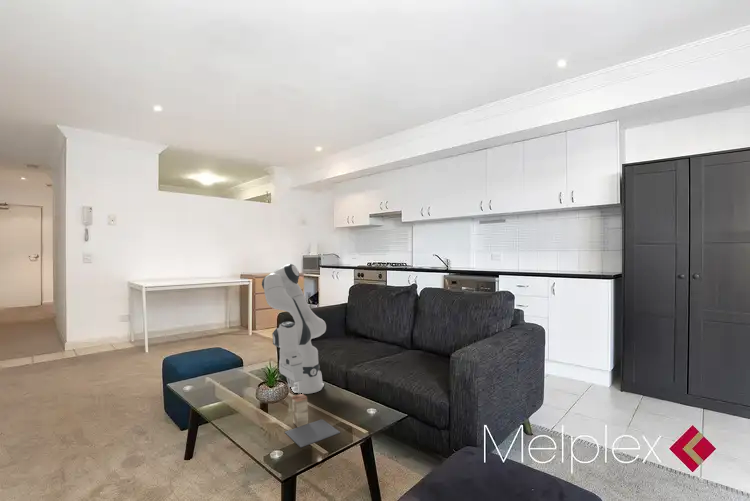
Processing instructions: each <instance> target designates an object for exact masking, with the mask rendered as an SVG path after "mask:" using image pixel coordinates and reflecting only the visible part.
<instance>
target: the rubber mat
mask: <svg viewBox="0 0 750 501" xmlns="http://www.w3.org/2000/svg"><path fill="white" fill-rule="evenodd" d="M284 434H286V436H287V437H289V438H290V439H291V440H292V441H293V442H294V443H295V444H296V445H297V446H298V447H299V448H304V447H306V446H309V445H312V444H314V443H317V442H320V441H323V440H325V439H328V438H330V437H333V436H336V435H339V434H341V431H339V430H338V429H337V428H336V427H334V426H333V425H331V424H330V423H328V422H327V421H326V420H324V419H323V418H321V419H318V420H315V421H313V422H308V424H306V425H303V426H300V427H297V426H296V427H294V428H291V429H288V430H286V431H284Z"/></svg>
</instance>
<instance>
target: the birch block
mask: <svg viewBox="0 0 750 501" xmlns="http://www.w3.org/2000/svg"><path fill="white" fill-rule="evenodd" d="M291 399H292V400H291V401H292V422H293V425H295V426H296V428H297V427H300V426H303V425H306V424H309V412H308V411H309V409H308V408H309V406H308V396H307V395H306V394H301V393H298V394H297V395H292V396H291Z"/></svg>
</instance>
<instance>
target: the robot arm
mask: <svg viewBox="0 0 750 501" xmlns="http://www.w3.org/2000/svg"><path fill="white" fill-rule="evenodd" d="M299 279H300V272H299V269H298V268H297V266H296V265H294V264H292V263H289V264H284V266H282V267H279V268H277V269H276V270H274V271H272V272H271V273H270V274H267V275H266V276H265V277H264V278H263V279H262V281H261V286H262V289H263V290H264V291H263V292H264V297H265V298H264V299H265V301H266V304H267V305H268V306H269V307H271V308H272V309H274V310H280V311H284V312H287V313H289V315H291V316H292V319H293V321H283V322H281V323H279V326H278V327H277V328H275V329H274V330H273V332H272V334H271V335H272V344H273V345H274V346H275V347H277V348H279V361H278V362H279V364H278V368H279V374H281V375H282V376H284V377H285V378H286V381H287V386H288V387H289V388H290V387H291V389H292V390H291V389H290V390H291V391H293V392H294V393H298V394H301V393H302V394H304V395H306V394H307V395H309V394H313V393H317V392H318V393H319V391H321V390H323V387H325V386H324V384H325V383H324V382H323V375H322V371H321V370H320V368H321V367H320V363H319V350H318V348H317V347H316V346H314V345H313V344H312V339H315V338H319V337H321V336H322V335H323V334H325V333H326V331H327V324H326V321H325V320H323V318H320V317H319V316H318V315H316V314H315V312H314V311H313V310H312V309H311V308H310V306H309V304H308V301H307V300H306V299H307V298H306V296H305V294H304V292H303V290H302V287H300V284H299ZM293 392H292V393H293ZM294 393H293V394H294Z"/></svg>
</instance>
